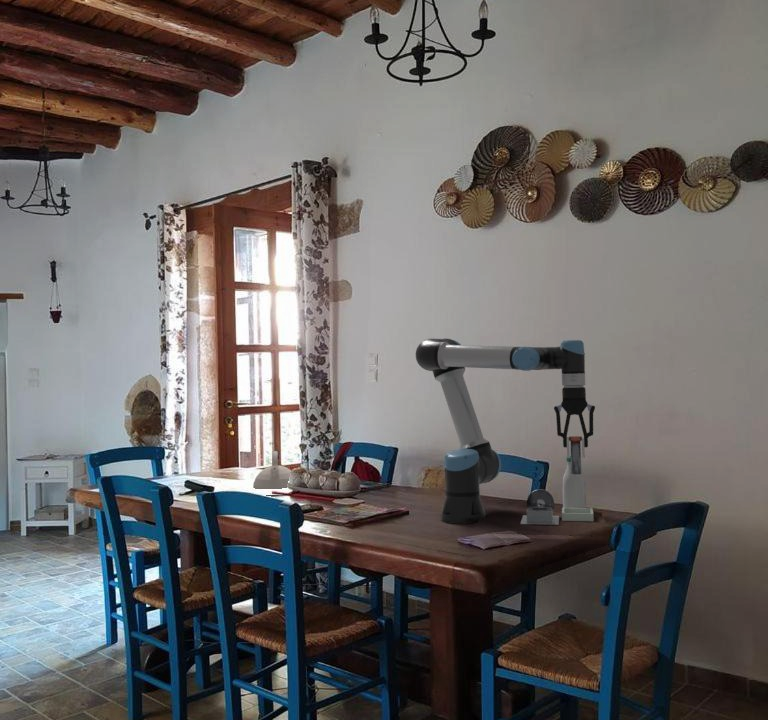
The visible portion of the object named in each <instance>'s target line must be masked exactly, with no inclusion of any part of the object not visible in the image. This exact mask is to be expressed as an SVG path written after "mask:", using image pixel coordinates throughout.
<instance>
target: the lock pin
mask: <svg viewBox="0 0 768 720" xmlns="http://www.w3.org/2000/svg"><path fill="white" fill-rule="evenodd" d="M568 437H569V443H570V456H571V474H581V472H582V443H581V442H582V436H579V435H578V436H577V435H572V436H568Z"/></svg>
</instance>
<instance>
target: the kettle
mask: <svg viewBox="0 0 768 720" xmlns="http://www.w3.org/2000/svg"><path fill="white" fill-rule="evenodd" d="M271 455H272V456H271V457H272V458H271V461H272V462H271V463H272V464H271V465H270V466H269V465H268V466H267V467H265V468H264V469H262V470H261V471H259V473H258V474H257V476H256V477H255V478H254V481H253V484H252V486H253V487H252V489H253V488H255V489H282V488H287V484H288V481H289V477H290V472H291V471H292V470H291V469H290V468H288V467H286V466H283V465H279V462H278V461H279V459H280V456H279V451H278V450H274V451H272V454H271Z"/></svg>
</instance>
